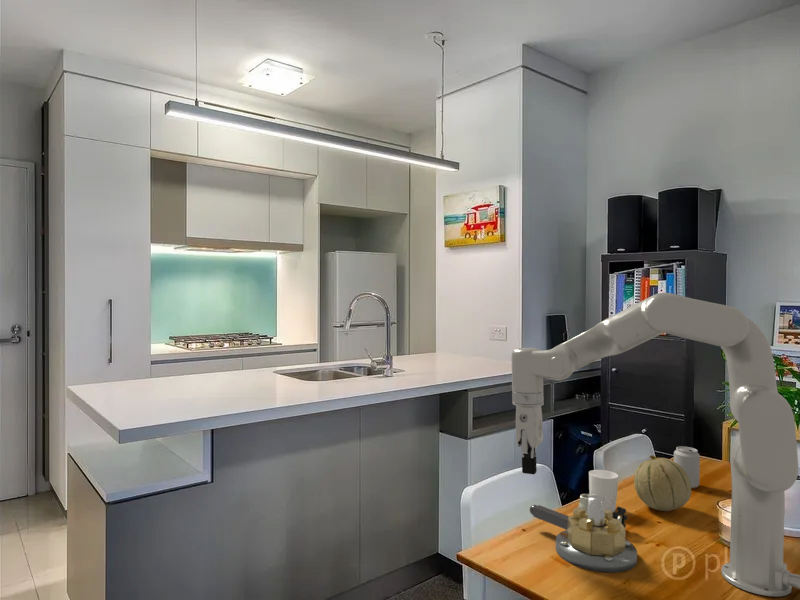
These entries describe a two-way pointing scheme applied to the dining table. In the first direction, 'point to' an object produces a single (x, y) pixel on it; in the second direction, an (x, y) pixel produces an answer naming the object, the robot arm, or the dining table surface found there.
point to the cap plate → (596, 562)
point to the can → (689, 463)
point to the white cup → (604, 486)
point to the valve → (615, 515)
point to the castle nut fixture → (586, 530)
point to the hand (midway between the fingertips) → (529, 472)
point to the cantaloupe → (662, 484)
